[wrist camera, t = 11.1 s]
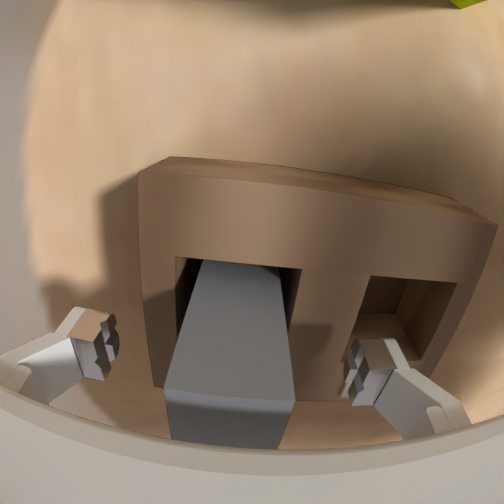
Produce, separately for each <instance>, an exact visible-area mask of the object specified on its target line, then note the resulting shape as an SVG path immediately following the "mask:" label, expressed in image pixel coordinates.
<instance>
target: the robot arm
mask: <svg viewBox="0 0 504 504" xmlns="http://www.w3.org/2000/svg"><path fill="white" fill-rule="evenodd" d="M116 324H117V323H116V319H115V316H114V315H113V314H111V313H106V312H101V311H97V310H92V309H87V308H82V307H78V306H76V307H74V308H73V309H72V310H71V311H70V313H69V314H68V315H67V316H66V318H65V319H64V320H63V322H62V323H61V324H60V326H59V327H58V328H57V329H56V331H55V332H54V333H52V332H50V333H47V334H45V335H43V336H41V337H39V338H37V339H35V340H32V341H30V342H28V343H26V344H23V345H21V346H19V347H17V348H15V349H13V350H10V351H8V352H6V353H4V354H2V355H0V504H504V414H503V415H500V416H497V417H494V418H491V419H488V420H485V421H482V422H479V423H475V424H471V422H470V420H469V418H468V416H467V414H466V412H465V410H464V408H463V406H462V404H461V402H460V401H459V400H458V399H457V398H455V397H454V396H452V395H451V394H449V393H448V392H447V391H445V390H444V389H442V388H441V387H440V386H438V385H437V384H435V383H434V382H432V381H431V380H430V379H428V378H427V377H425V376H424V375H423V374H421V373H420V372H418V371H417V370H415V369H414V368H412V369H410V367H409V365H408V363H407V361H406V359H405V357H404V355H403V353H402V351H401V349H400V347H399V345H398V343H397V341H396V340H395V339H394V338H381V339H354V340H353V342H352V344H351V347H350V348H351V351H352V353H350V354H349V355H348V356H347V357H346V359H345V362H344V367H343V377H344V380H345V382H346V383H347V384H348V385H349V386H350V387H349V389H348V395H349V399H350V402H351V406H363V405H374V408H375V409H376V410H377V411H378V412H379V413H380V414H381V415H382V416H383V417H384V418H385V419H386V420H387V421H388V422H389V423H390V424H391V425H392V426H393V428H394V429H395V430H396V431H397V432H398V433H399V434H400V435H401V436H402V437H403V440H402V441H395V442H389V443H382V444H374V445H365V446H356V447H344V448H329V449H303V450H277V449H251V448H236V447H225V446H215V445H206V444H199V443H191V442H185V441H178V440H172V439H167V438H161V437H156V436H151V435H146V434H142V433H137V432H133V431H129V430H124V429H120V428H117V427H113V426H109V425H105V424H102V423H98V422H95V421H92V420H88V419H85V418H82V417H79V416H76V415H72V414H70V413H67V412H64V411H61V410H58V409H56V408H53V407H50V406H49V404H48V403H49V402H51V401H52V400H53V399H55V398H56V397H58V396H59V395H60V394H62V393H63V392H64V391H66V390H67V389H68V388H70V387H71V386H73V385H74V384H75V383H77V382H78V381H79V380H81V379H82V378H83V377H87V378H92V379H96V380H100V381H105V380H106V378H107V375H108V373H109V371H110V369H111V366H110V362H111V361H113V360H115V359H116V356H117V354H118V350H119V346H120V345H119V334H118V333H117V331H116V330H115V329H114V327H115V326H116Z"/></svg>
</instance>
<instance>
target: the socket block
mask: <svg viewBox="0 0 504 504" xmlns="http://www.w3.org/2000/svg"><path fill="white" fill-rule="evenodd" d="M497 227H498V226H497V225H496V224H494V223H493V222H491V221H489V220H488V219H486V218H484V217H483V216H481V215H479V214H478V213H476V212H474V211H473V210H471V209H469V208H467V207H466V206H464V205H462V204H460V203H459V202H457V201H455V200H453V199H451V198H448V197H444V196H440V195H436V194H431V193H427V192H423V191H419V190H414V189H410V188H405V187H401V186H396V185H391V184H386V183H381V182H376V181H371V180H366V179H360V178H355V177H349V176H343V175H338V174H331V173H325V172H319V171H312V170H305V169H298V168H291V167H283V166H275V165H267V164H258V163H249V162H239V161H228V160H216V159H203V158H188V157H168V158H166V159H164V160H162V161H160V162H158V163H156V164H154V165H152V166H150V167H149V168H147V169H145V170H143V171H141V172H139V173H138V230H139V254H140V270H141V284H142V296H143V306H144V316H145V325H146V334H147V342H148V349H149V356H150V363H151V370H152V376H153V382H154V387H159V388H164V384H165V381H166V377H167V374H168V370H169V367H170V364H171V360H172V357H173V354H174V350H175V347H176V344H177V340H178V337H179V334H180V330H181V327H182V324H183V321H184V318H185V314H186V311H187V308H188V305H189V302H190V299H191V296H192V292H193V260H194V258H197V259H207V260H216V261H226V262H236V263H246V264H256V265H266V266H276V267H284V268H283V274H282V280H281V290H282V297H283V305H284V312H285V320H286V327H287V335H288V343H289V351H290V359H291V367H292V375H293V383H294V392H295V400H296V401H343V400H350V399H349V395H348V389H349V387H350V386H349V385H348V384H347V383H346V382H345V380H344V377H343V367H344V362H345V359H346V357H347V356H348V355H349V354H350V353H352V351H351V348H350V347H351V344H352V342H353V340H354V339H381V338H394V339H395V340H396V341H397V343H398V345H399V347H400V349H401V351H402V353H403V355H404V357H405V359H406V361H407V363H408V365H409V367H410V369H412V368H414V369H415V370H417V371H418V372H420V373H421V374H423V375H424V376H425V377H427V378H429V377H430V375H431V373H432V372H433V370H434V368H435V367H436V365H437V363H438V362H439V360H440V358H441V356H442V355H443V353H444V351H445V349H446V347H447V346H448V344H449V342H450V340H451V338H452V336H453V334H454V332H455V330H456V328H457V326H458V324H459V322H460V320H461V318H462V316H463V314H464V312H465V310H466V308H467V306H468V303H469V301H470V299H471V297H472V294H473V292H474V290H475V287H476V285H477V283H478V280H479V278H480V275H481V273H482V270H483V268H484V265H485V262H486V260H487V257H488V254H489V251H490V248H491V245H492V242H493V239H494V236H495V233H496V230H497ZM370 275H372V276H383V277H395V278H407V282H406V285H405V287H404V290H403V293H402V295H401V298H400V301H399V303H398V306H397V308H396V311H395V314H383V313H359V309H360V307H361V304H362V301H363V298H364V294H365V291H366V288H367V285H368V282H369V279H370Z"/></svg>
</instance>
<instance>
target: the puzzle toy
mask: <svg viewBox="0 0 504 504" xmlns="http://www.w3.org/2000/svg"><path fill="white" fill-rule="evenodd" d="M450 1H451V2H452V3H453V4H455V5H456V6H457V7H458V8H459V9H463V8H465V7H468V6H471V5H474V4H477V3H480V2H483V1H486V0H450Z"/></svg>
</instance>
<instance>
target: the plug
mask: <svg viewBox="0 0 504 504" xmlns="http://www.w3.org/2000/svg"><path fill="white" fill-rule="evenodd" d="M163 389H164V396H165V402H166V409H167V415H168V421H169V427H170V433H171V438H172V440H178V441H185V442H191V443H199V444H206V445H215V446H225V447H236V448H251V449H278V446H279V444H280V441H281V439H282V436H283V433H284V431H285V428H286V426H287V423H288V420H289V418H290V415H291V412H292V409H293V407H294V404H295V401H296V400H295V392H294V383H293V375H292V367H291V359H290V351H289V343H288V335H287V327H286V320H285V312H284V305H283V297H282V290H281V283H280V276H279V268H278V267H276V266H266V265H256V264H246V263H236V262H226V261H216V260H207V259H203V262H202V265H201V268H200V271H199V274H198V277H197V280H196V283H195V286H194V289H193V292H192V296H191V299H190V302H189V305H188V308H187V311H186V314H185V318H184V321H183V324H182V327H181V330H180V334H179V337H178V340H177V344H176V347H175V350H174V354H173V357H172V360H171V364H170V367H169V370H168V374H167V377H166V381H165V384H164V388H163Z"/></svg>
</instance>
